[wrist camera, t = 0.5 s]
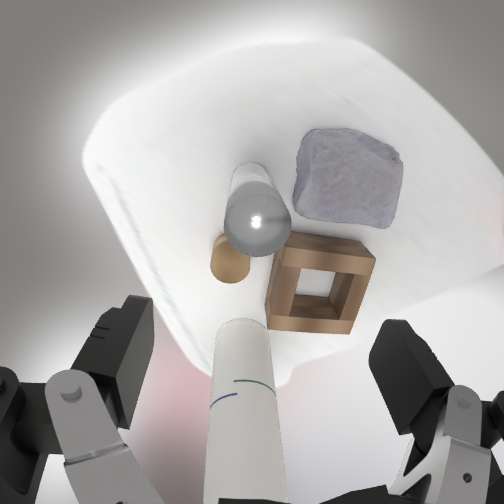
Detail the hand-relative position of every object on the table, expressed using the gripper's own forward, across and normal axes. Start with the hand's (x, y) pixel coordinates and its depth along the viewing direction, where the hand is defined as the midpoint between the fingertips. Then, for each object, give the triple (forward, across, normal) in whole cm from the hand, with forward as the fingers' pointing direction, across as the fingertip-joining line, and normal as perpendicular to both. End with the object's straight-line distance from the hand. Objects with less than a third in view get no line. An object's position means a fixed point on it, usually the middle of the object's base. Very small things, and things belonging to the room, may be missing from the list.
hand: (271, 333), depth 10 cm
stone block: (+25, -10, -3) cm, 27 cm away
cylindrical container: (+24, -2, +20) cm, 32 cm away
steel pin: (+24, 0, -1) cm, 24 cm away
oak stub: (+24, +1, +7) cm, 25 cm away
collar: (+24, -9, +10) cm, 27 cm away
